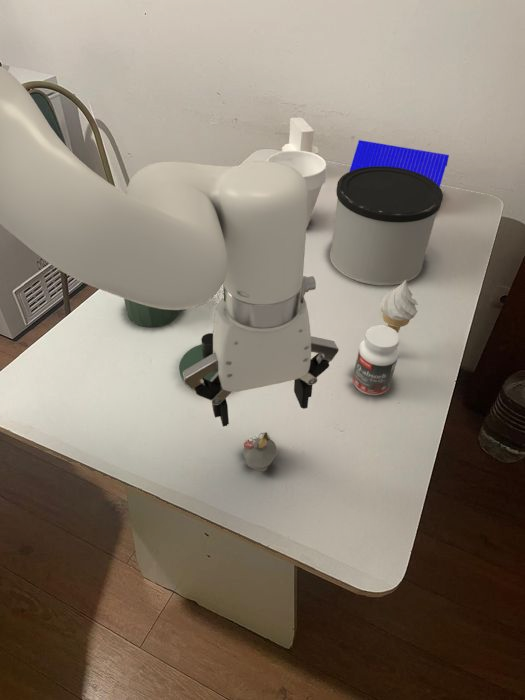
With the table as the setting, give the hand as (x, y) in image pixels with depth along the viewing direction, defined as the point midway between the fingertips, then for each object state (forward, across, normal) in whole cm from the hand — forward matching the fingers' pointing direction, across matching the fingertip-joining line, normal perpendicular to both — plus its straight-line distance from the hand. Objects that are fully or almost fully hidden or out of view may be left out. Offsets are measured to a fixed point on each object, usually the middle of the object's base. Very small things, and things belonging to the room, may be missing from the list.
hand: (262, 408), depth 62 cm
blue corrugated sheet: (+11, -50, -63) cm, 81 cm away
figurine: (+11, 0, 0) cm, 11 cm away
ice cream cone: (+11, -25, -14) cm, 30 cm away
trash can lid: (+10, +3, -18) cm, 21 cm away
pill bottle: (+11, -20, -9) cm, 24 cm away
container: (+11, -35, -40) cm, 54 cm away
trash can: (+10, +10, -35) cm, 38 cm away
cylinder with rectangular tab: (+11, -32, -80) cm, 87 cm away
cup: (+11, -23, -57) cm, 62 cm away
